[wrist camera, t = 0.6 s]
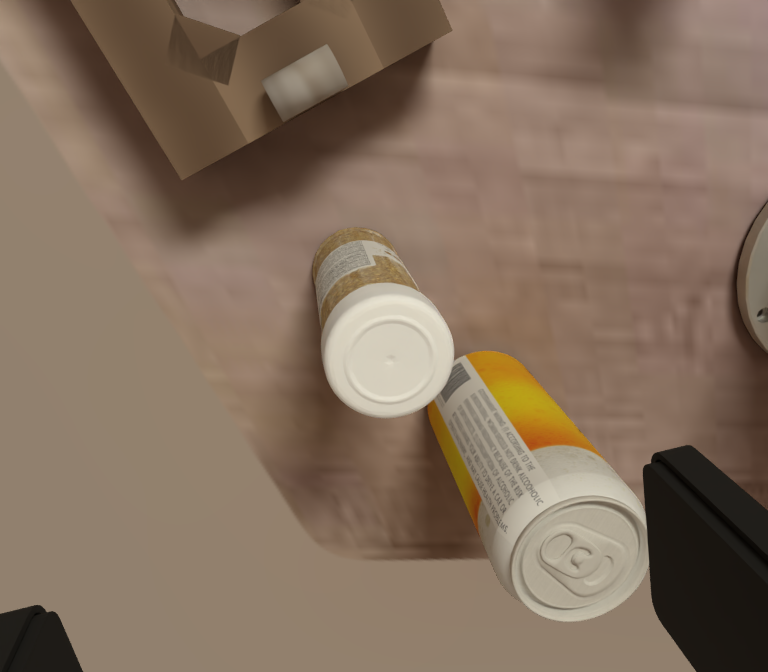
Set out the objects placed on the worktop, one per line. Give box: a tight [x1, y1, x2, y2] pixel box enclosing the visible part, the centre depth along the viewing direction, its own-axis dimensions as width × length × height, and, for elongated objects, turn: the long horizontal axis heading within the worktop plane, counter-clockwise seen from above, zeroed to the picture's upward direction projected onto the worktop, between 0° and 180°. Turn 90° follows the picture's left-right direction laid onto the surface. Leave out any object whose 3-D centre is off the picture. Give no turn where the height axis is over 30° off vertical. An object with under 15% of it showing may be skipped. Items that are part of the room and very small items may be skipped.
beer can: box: [428, 351, 649, 622], centre depth 33 cm, size 6×6×15 cm
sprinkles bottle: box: [312, 227, 454, 418], centre depth 30 cm, size 5×5×14 cm
